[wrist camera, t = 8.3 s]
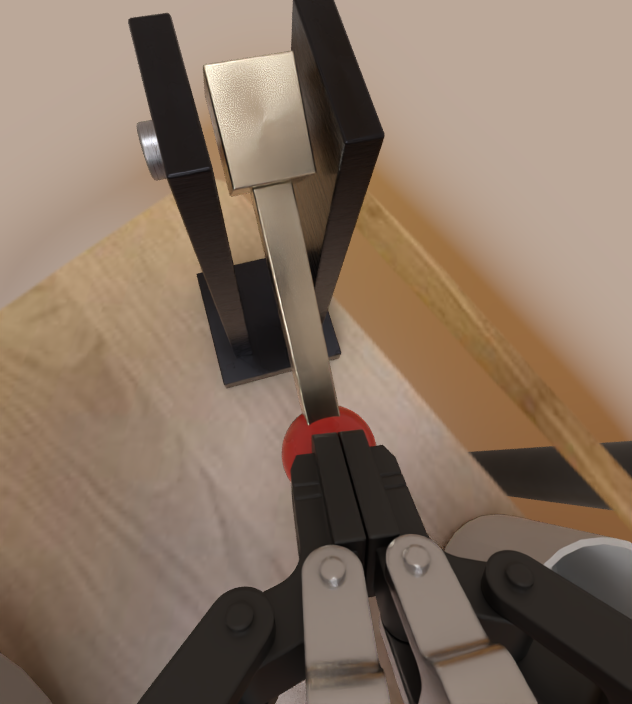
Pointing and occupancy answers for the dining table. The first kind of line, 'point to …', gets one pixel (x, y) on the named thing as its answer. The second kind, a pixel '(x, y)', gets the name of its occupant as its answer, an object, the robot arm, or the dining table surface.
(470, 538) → the cup
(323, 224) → the switch bracket
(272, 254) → the power lever
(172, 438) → the dining table surface
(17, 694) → the alarm clock
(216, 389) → the dining table surface
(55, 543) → the dining table surface
